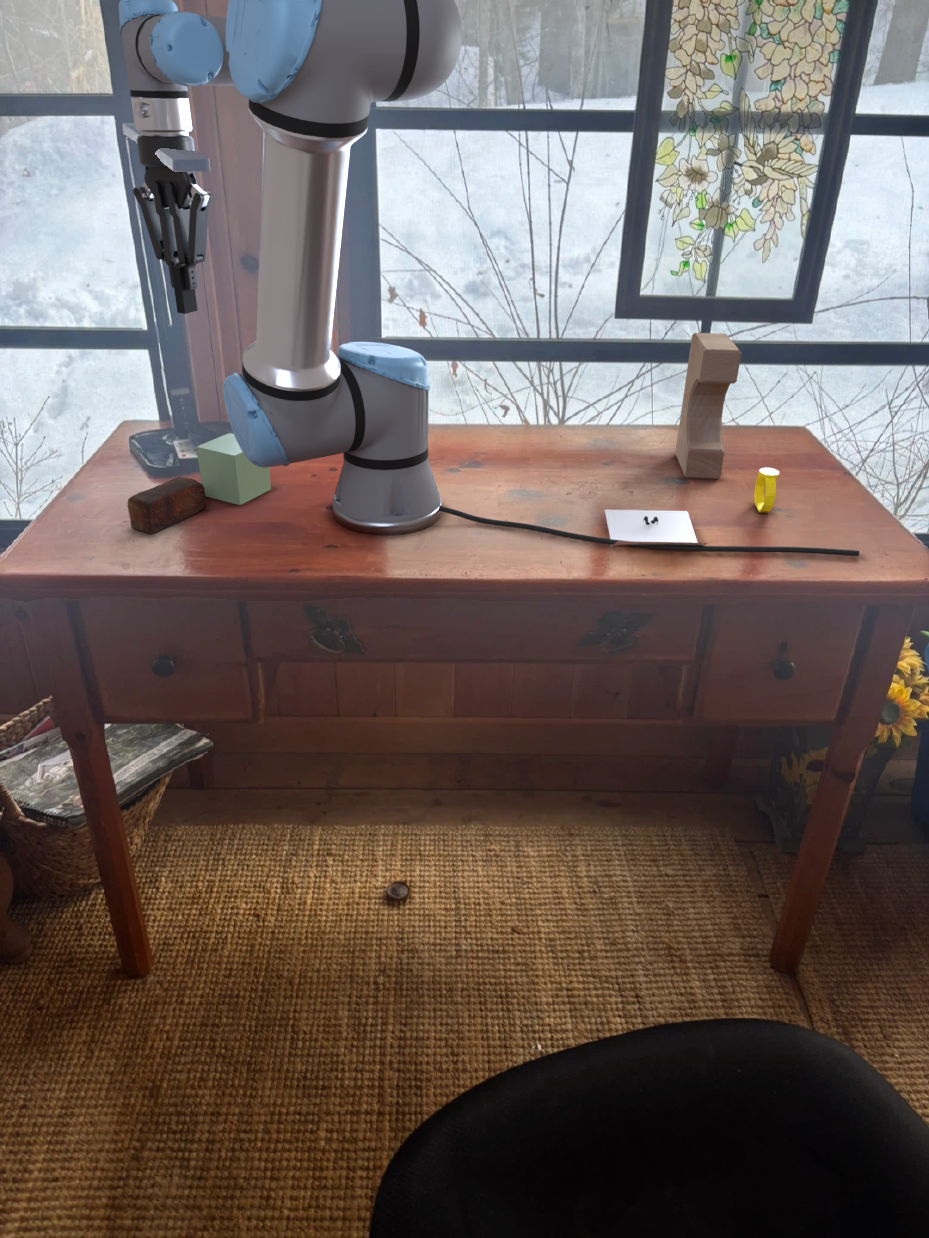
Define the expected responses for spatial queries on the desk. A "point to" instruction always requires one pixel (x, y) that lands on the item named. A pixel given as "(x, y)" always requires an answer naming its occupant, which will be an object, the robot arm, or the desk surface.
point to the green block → (230, 472)
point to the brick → (165, 504)
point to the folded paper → (651, 527)
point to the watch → (768, 478)
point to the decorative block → (705, 404)
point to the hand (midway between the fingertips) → (187, 311)
